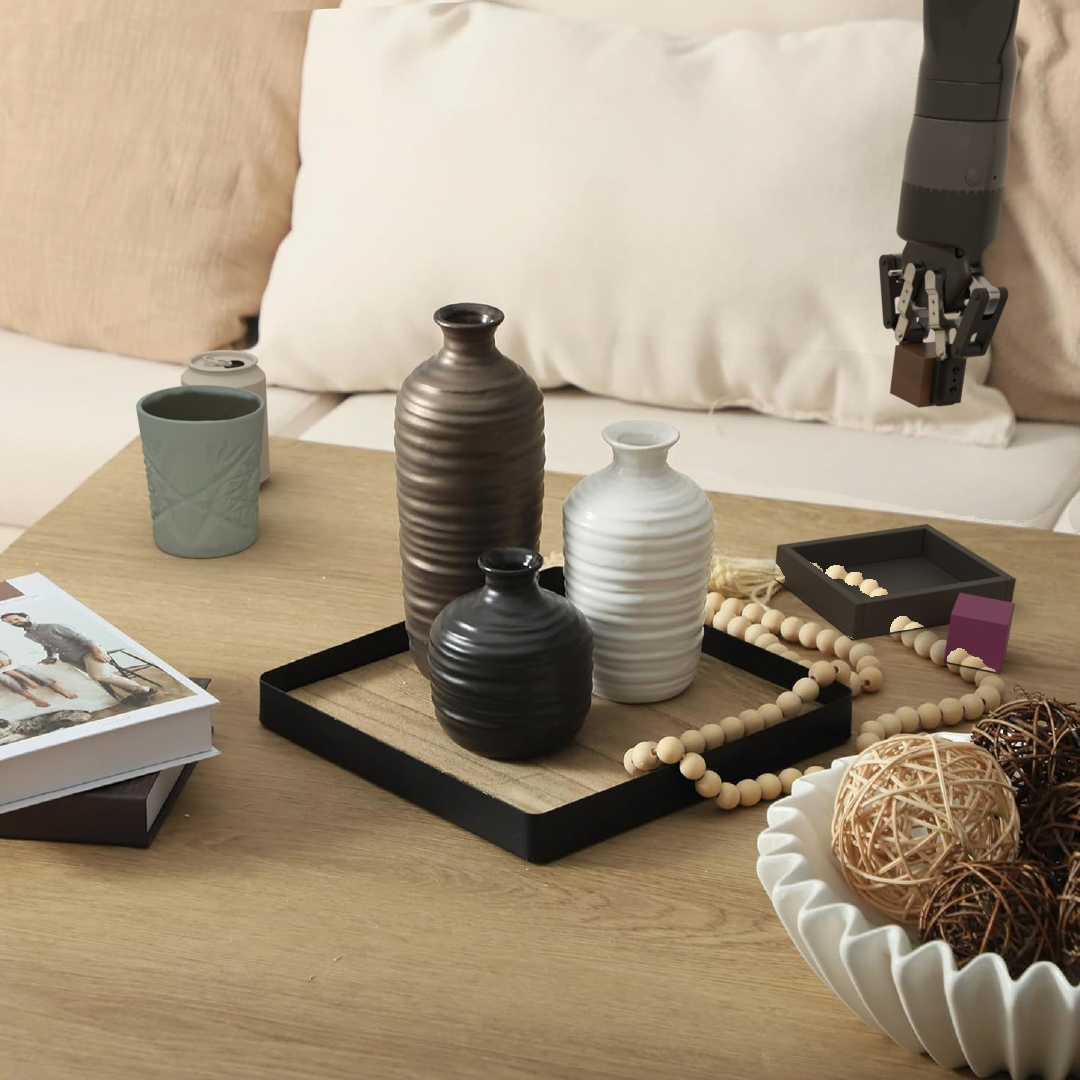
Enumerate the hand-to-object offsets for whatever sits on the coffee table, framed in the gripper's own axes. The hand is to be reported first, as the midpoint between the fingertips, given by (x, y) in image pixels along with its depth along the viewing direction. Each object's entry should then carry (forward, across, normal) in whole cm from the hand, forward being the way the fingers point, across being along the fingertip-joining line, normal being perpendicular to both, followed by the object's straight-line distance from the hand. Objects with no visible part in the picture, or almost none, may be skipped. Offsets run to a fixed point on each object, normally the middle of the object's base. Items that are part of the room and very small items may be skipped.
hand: (925, 394), depth 118 cm
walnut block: (0, 0, 0) cm, 0 cm away
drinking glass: (+15, +23, +54) cm, 60 cm away
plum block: (+15, -16, +4) cm, 22 cm away
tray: (+15, -5, +4) cm, 16 cm away
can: (+15, +35, +50) cm, 63 cm away
